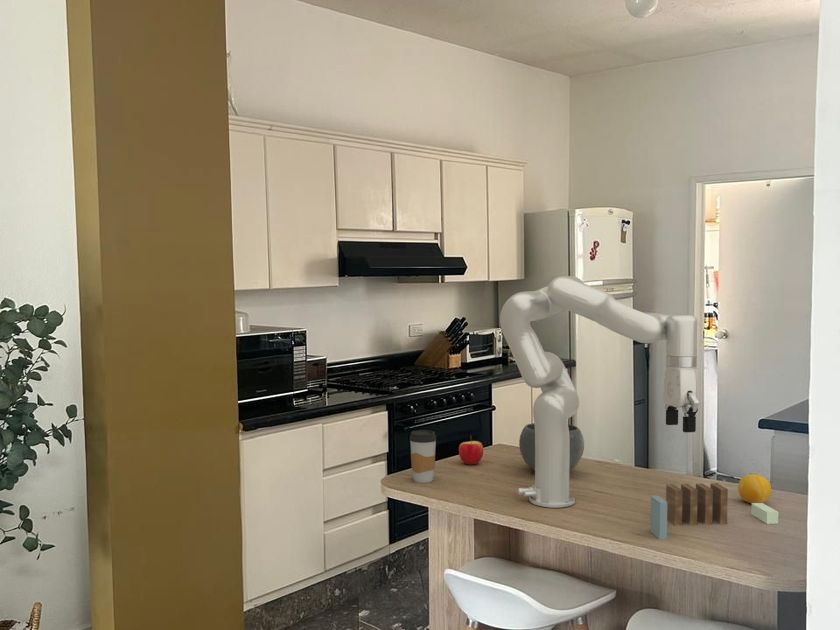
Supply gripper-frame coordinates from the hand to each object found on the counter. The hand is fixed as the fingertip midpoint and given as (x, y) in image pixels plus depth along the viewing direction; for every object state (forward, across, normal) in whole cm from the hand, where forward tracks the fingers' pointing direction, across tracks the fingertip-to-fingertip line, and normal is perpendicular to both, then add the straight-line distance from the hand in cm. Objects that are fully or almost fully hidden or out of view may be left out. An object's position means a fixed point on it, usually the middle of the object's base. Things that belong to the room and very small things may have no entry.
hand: (680, 428), depth 207 cm
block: (+24, +2, +23) cm, 33 cm away
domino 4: (+24, +1, +6) cm, 25 cm away
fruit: (+24, -12, +28) cm, 39 cm away
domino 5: (+24, +1, +10) cm, 26 cm away
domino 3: (+24, +1, +2) cm, 24 cm away
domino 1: (+24, +10, -10) cm, 28 cm away
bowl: (+24, -52, -18) cm, 60 cm away
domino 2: (+24, +1, -2) cm, 24 cm away
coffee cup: (+24, -48, -61) cm, 81 cm away
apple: (+24, -67, -42) cm, 83 cm away
